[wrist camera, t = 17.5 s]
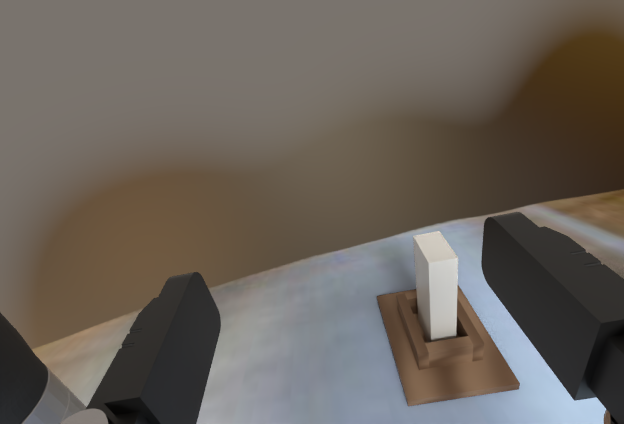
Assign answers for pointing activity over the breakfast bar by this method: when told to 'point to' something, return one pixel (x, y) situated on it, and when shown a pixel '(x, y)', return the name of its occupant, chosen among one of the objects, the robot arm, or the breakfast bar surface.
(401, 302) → the walnut rack
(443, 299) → the clay bar
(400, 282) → the breakfast bar surface
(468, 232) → the breakfast bar surface
